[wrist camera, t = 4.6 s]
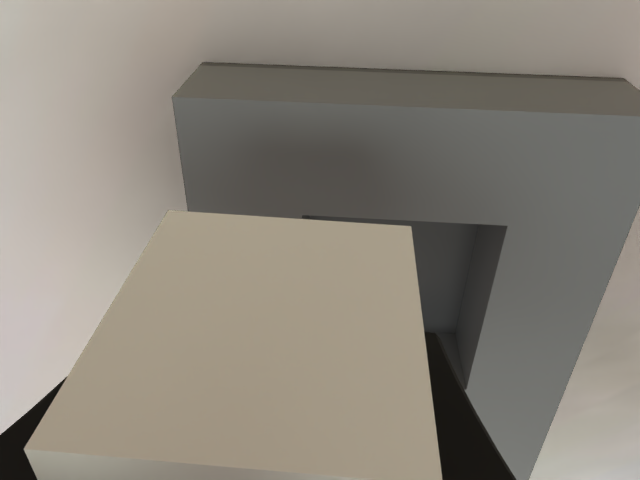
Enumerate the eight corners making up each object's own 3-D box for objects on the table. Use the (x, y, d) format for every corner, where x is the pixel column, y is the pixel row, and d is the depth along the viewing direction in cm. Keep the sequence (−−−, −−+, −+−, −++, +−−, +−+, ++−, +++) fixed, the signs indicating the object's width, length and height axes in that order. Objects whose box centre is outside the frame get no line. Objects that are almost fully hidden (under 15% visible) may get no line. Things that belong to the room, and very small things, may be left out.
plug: (407, 196, 10) (442, 485, 5) (380, 386, 12) (388, 683, 8) (185, 181, 10) (22, 449, 5) (208, 373, 12) (117, 655, 8)
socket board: (624, 78, 15) (675, 117, 13) (473, 529, 28) (483, 591, 26) (202, 62, 16) (171, 97, 13) (249, 511, 29) (238, 570, 27)
